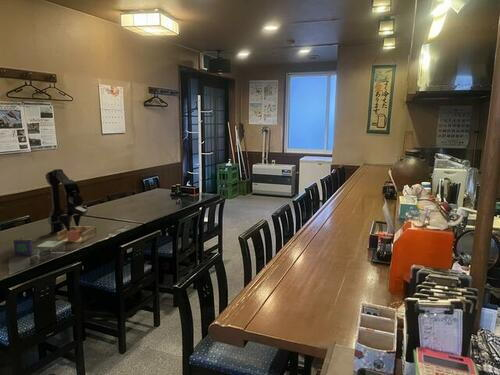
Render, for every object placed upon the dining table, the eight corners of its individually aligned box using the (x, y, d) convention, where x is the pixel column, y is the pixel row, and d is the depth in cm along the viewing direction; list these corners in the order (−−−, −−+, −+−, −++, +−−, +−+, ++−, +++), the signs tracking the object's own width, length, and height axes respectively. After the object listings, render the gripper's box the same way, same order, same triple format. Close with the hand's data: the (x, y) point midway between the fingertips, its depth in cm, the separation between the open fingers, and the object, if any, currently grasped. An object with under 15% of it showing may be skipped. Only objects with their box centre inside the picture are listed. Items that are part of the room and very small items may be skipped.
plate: (36, 248, 202) (36, 246, 202) (47, 242, 212) (47, 240, 212) (53, 248, 201) (53, 247, 201) (63, 243, 211) (63, 241, 211)
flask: (34, 254, 192) (32, 235, 190) (31, 256, 189) (29, 236, 188) (16, 254, 191) (14, 235, 190) (13, 256, 189) (11, 237, 187)
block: (67, 240, 212) (66, 232, 211) (72, 238, 217) (71, 230, 216) (75, 241, 212) (75, 232, 211) (80, 238, 217) (79, 230, 216)
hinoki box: (57, 242, 212) (57, 232, 211) (72, 235, 226) (71, 226, 225) (83, 243, 211) (83, 233, 210) (96, 235, 225) (95, 226, 224)
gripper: (75, 206, 201) (77, 233, 204) (92, 200, 219) (93, 224, 222) (56, 206, 202) (58, 232, 204) (75, 199, 220) (76, 224, 223)
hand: (73, 228), depth 213 cm, fingers open, 9 cm apart
